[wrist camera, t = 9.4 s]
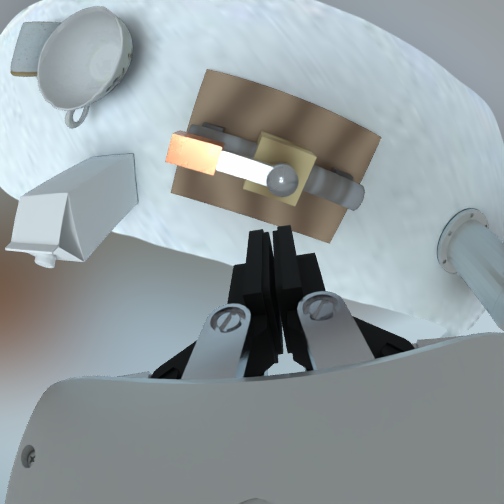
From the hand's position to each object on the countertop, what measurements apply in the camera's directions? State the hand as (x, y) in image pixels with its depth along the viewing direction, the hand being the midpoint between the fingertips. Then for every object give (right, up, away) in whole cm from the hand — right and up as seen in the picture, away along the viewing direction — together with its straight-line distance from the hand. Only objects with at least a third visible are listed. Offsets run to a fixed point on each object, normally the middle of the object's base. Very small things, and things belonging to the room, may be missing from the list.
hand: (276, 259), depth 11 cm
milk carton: (-20, +10, +22) cm, 32 cm away
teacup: (-20, +24, +14) cm, 34 cm away
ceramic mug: (-28, +30, +11) cm, 42 cm away
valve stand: (+2, +12, +21) cm, 24 cm away
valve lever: (-2, +9, +13) cm, 16 cm away
